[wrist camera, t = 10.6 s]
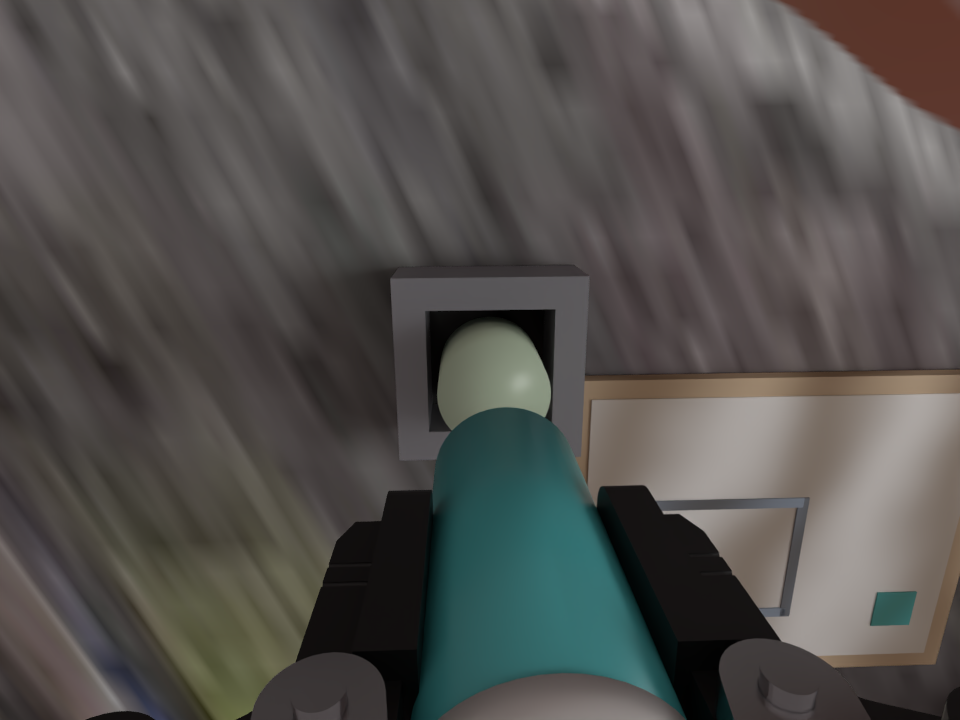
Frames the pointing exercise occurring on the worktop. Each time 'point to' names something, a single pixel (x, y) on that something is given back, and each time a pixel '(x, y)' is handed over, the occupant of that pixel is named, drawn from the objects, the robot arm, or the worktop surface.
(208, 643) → the worktop surface
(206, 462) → the worktop surface
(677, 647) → the robot arm
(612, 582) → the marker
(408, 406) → the button housing
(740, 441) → the framed whiteboard
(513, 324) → the button
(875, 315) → the worktop surface
